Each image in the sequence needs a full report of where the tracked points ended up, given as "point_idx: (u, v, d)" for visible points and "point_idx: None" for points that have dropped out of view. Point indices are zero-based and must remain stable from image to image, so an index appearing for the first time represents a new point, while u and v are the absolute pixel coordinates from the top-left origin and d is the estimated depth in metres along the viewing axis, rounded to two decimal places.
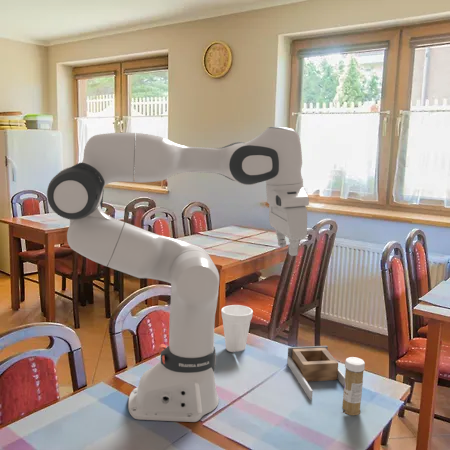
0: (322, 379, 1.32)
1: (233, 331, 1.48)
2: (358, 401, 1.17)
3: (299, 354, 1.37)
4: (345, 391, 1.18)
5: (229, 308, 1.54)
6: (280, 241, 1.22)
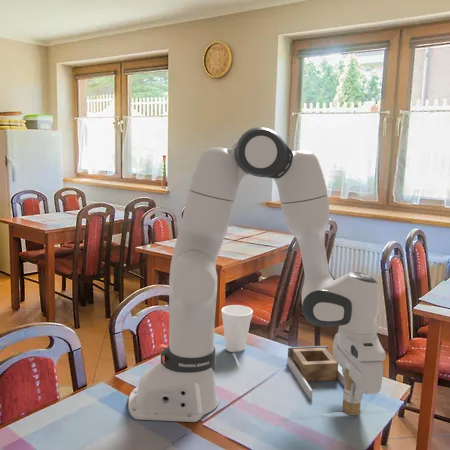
0: (322, 379, 1.32)
1: (233, 331, 1.48)
2: (358, 401, 1.17)
3: (299, 354, 1.37)
4: (345, 391, 1.18)
5: (229, 308, 1.54)
6: None
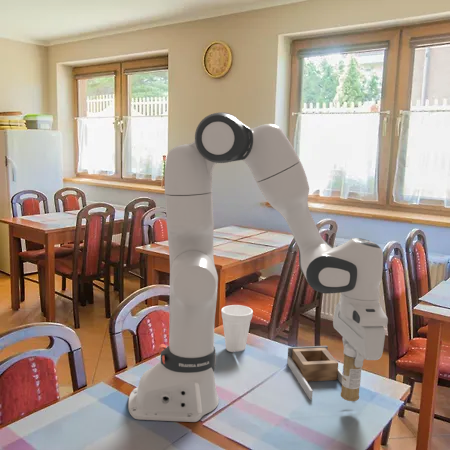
0: (322, 379, 1.32)
1: (233, 331, 1.48)
2: (356, 387, 1.16)
3: (299, 354, 1.37)
4: (343, 377, 1.17)
5: (229, 308, 1.54)
6: None
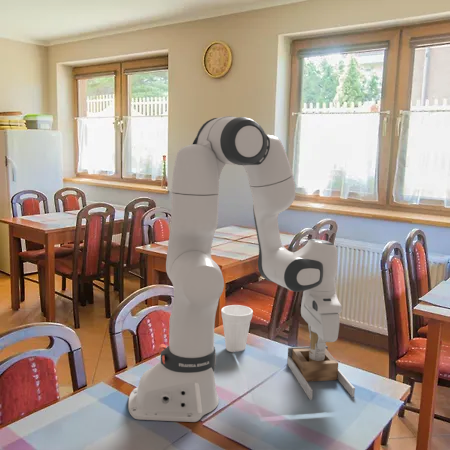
0: (322, 379, 1.32)
1: (233, 331, 1.48)
2: (321, 359, 1.35)
3: (299, 354, 1.37)
4: (310, 350, 1.36)
5: (229, 308, 1.54)
6: None
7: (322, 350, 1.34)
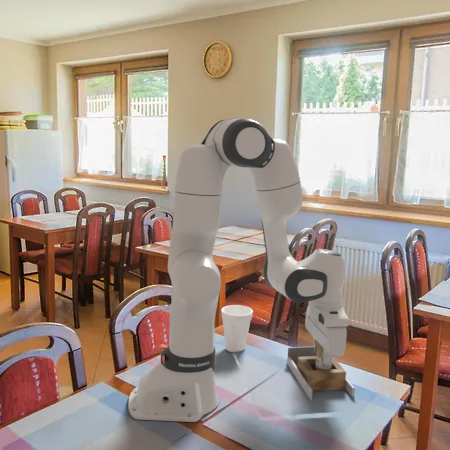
0: (329, 389, 1.27)
1: (233, 331, 1.48)
2: (328, 368, 1.30)
3: (305, 362, 1.32)
4: (317, 359, 1.31)
5: (229, 308, 1.54)
6: None
7: None
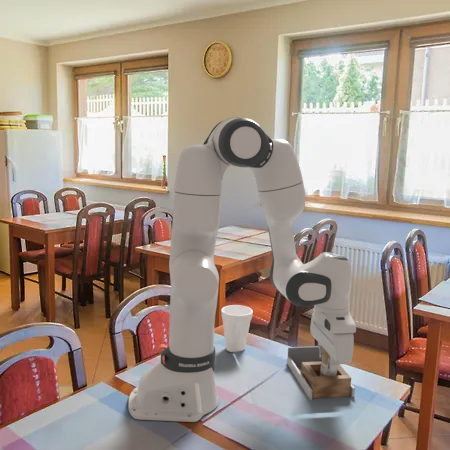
0: (334, 395, 1.24)
1: (233, 331, 1.48)
2: (333, 374, 1.26)
3: (309, 368, 1.29)
4: (322, 365, 1.27)
5: (229, 308, 1.54)
6: None
7: None
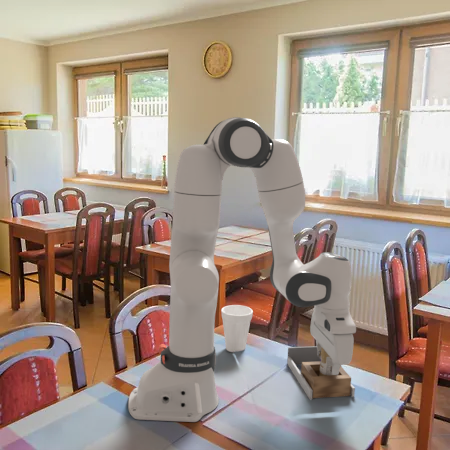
0: (334, 395, 1.24)
1: (233, 331, 1.48)
2: None
3: (309, 368, 1.29)
4: (321, 364, 1.27)
5: (229, 308, 1.54)
6: (320, 353, 1.30)
7: None
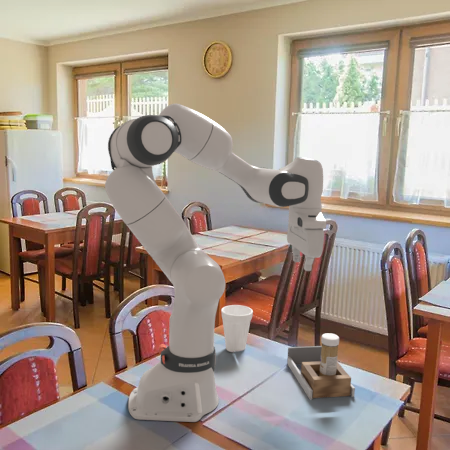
0: (334, 395, 1.24)
1: (233, 331, 1.48)
2: (333, 373, 1.27)
3: (309, 368, 1.29)
4: (321, 364, 1.27)
5: (229, 308, 1.54)
6: (295, 257, 1.39)
7: (334, 364, 1.26)
